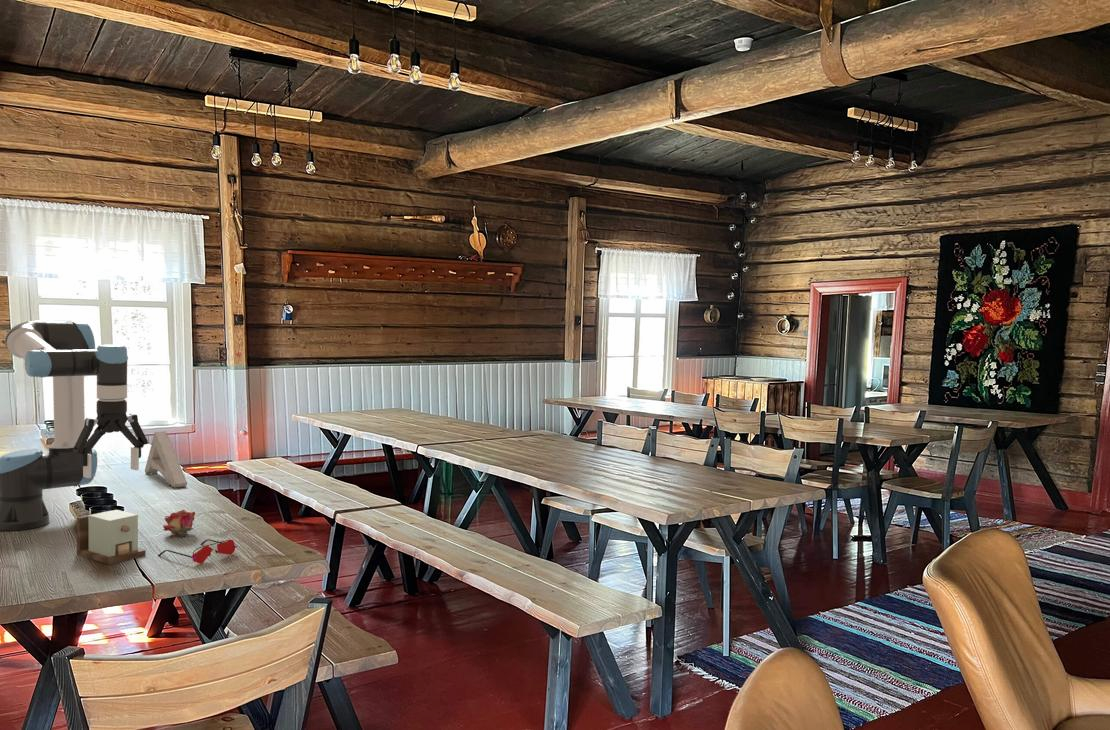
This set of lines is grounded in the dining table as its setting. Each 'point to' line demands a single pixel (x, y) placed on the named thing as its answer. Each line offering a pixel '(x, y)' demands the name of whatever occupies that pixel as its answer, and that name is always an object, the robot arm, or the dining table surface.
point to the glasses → (209, 550)
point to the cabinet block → (112, 531)
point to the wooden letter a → (165, 461)
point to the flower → (179, 522)
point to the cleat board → (83, 550)
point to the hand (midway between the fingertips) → (111, 473)
